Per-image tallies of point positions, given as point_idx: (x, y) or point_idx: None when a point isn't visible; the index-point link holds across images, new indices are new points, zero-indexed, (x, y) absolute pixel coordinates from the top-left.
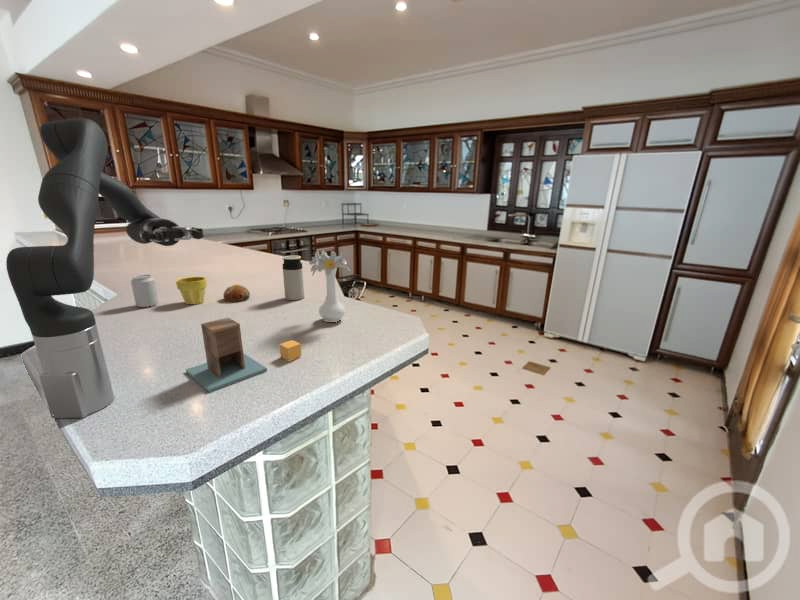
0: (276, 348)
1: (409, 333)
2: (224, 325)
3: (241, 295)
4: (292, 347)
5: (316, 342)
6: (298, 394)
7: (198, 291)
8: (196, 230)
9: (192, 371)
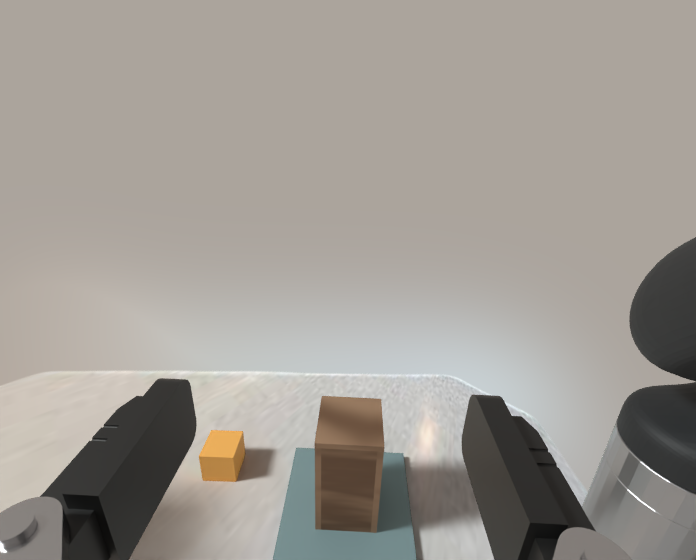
0: (196, 532)
1: (30, 387)
2: (349, 406)
3: None
4: (232, 432)
5: None
6: (315, 379)
7: None
8: (116, 430)
9: (408, 548)
